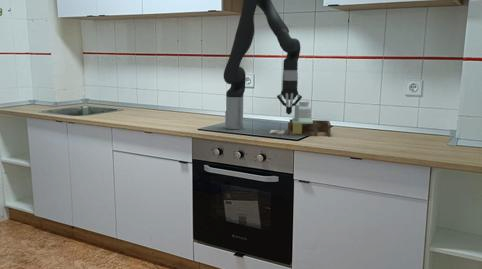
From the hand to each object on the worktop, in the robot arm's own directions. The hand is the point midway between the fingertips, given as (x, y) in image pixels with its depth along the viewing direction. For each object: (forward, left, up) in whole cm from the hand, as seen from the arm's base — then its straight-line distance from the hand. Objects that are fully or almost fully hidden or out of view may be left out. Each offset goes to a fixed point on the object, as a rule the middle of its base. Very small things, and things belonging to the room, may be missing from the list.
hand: (288, 114), depth 226 cm
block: (+4, 0, -9) cm, 10 cm away
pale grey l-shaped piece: (+7, 0, -4) cm, 8 cm away
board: (+5, 0, -11) cm, 12 cm away
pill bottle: (+7, +20, -11) cm, 24 cm away
